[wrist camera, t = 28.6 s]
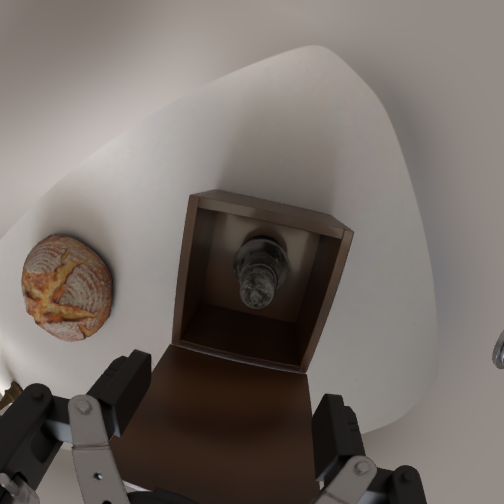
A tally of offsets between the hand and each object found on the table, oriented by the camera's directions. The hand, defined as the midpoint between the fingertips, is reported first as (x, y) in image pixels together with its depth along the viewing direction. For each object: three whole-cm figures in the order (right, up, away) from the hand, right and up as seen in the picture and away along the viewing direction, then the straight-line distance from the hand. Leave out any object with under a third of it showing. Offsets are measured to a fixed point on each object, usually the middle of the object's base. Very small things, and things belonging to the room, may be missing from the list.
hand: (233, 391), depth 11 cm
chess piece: (+2, +6, +21) cm, 22 cm away
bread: (-28, +1, +26) cm, 38 cm away
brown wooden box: (+2, +5, +22) cm, 23 cm away
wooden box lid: (-1, -6, +6) cm, 9 cm away
